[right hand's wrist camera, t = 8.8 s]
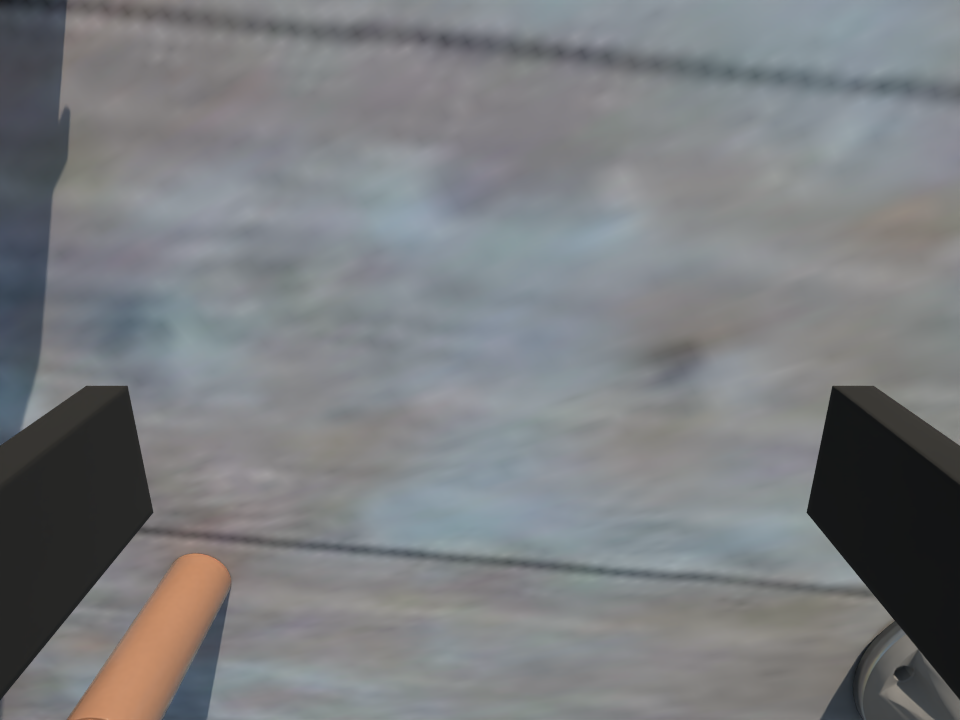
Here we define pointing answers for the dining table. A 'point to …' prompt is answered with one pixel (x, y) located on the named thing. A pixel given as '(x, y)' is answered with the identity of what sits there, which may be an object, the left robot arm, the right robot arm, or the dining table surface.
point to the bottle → (158, 644)
